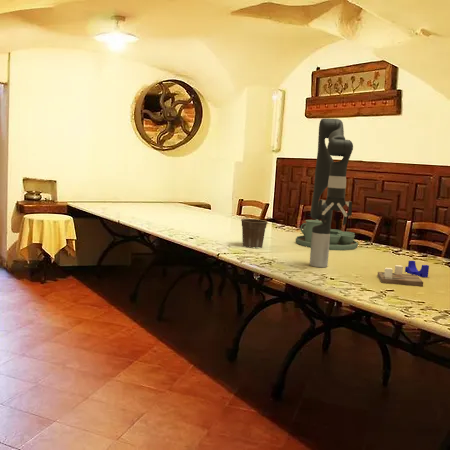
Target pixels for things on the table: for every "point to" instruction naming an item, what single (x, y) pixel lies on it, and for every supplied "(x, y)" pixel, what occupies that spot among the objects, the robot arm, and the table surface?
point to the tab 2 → (398, 269)
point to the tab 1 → (388, 272)
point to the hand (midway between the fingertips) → (333, 224)
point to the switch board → (401, 279)
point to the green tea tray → (337, 237)
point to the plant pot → (253, 232)
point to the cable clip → (413, 270)
